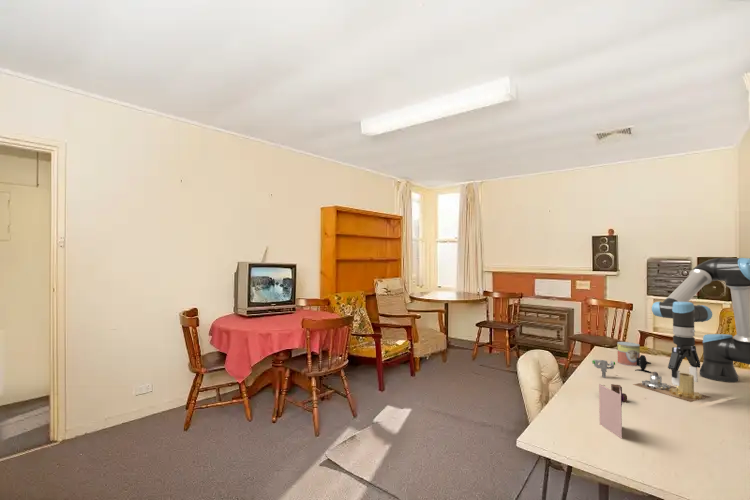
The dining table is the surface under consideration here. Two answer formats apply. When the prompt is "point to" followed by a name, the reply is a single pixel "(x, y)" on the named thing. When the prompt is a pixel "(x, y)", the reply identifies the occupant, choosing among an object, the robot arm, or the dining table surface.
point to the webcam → (642, 363)
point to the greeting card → (610, 410)
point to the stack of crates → (618, 391)
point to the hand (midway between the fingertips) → (684, 383)
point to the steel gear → (656, 383)
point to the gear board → (669, 391)
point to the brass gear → (686, 387)
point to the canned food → (628, 353)
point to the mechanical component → (603, 366)
